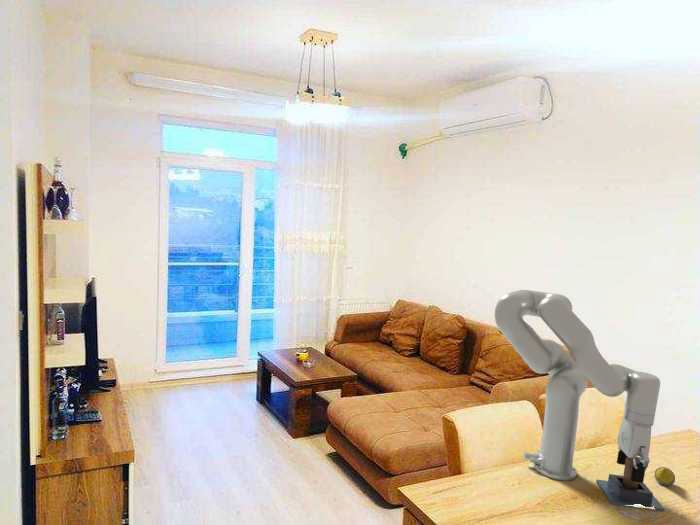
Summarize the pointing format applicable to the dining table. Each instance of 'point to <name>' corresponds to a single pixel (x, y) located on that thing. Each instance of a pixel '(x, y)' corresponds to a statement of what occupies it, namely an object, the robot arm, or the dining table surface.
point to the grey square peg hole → (627, 493)
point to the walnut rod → (629, 474)
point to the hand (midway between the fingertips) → (629, 472)
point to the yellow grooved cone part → (664, 476)
